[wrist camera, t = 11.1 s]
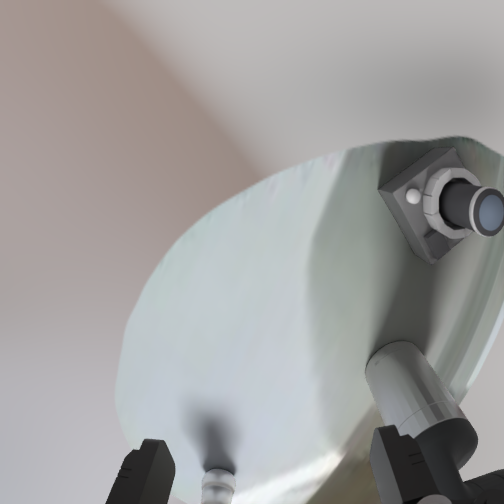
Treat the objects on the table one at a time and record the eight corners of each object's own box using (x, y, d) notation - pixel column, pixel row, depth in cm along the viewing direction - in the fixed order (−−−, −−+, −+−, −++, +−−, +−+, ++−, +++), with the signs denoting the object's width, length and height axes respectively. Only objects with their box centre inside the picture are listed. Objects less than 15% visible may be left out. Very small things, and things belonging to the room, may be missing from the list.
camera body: (466, 211, 37) (495, 221, 30) (414, 253, 38) (439, 270, 32) (433, 147, 35) (462, 146, 28) (377, 189, 37) (399, 195, 30)
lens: (465, 180, 31) (508, 187, 23) (466, 220, 32) (507, 235, 24) (433, 181, 31) (474, 187, 23) (434, 223, 32) (473, 239, 25)
